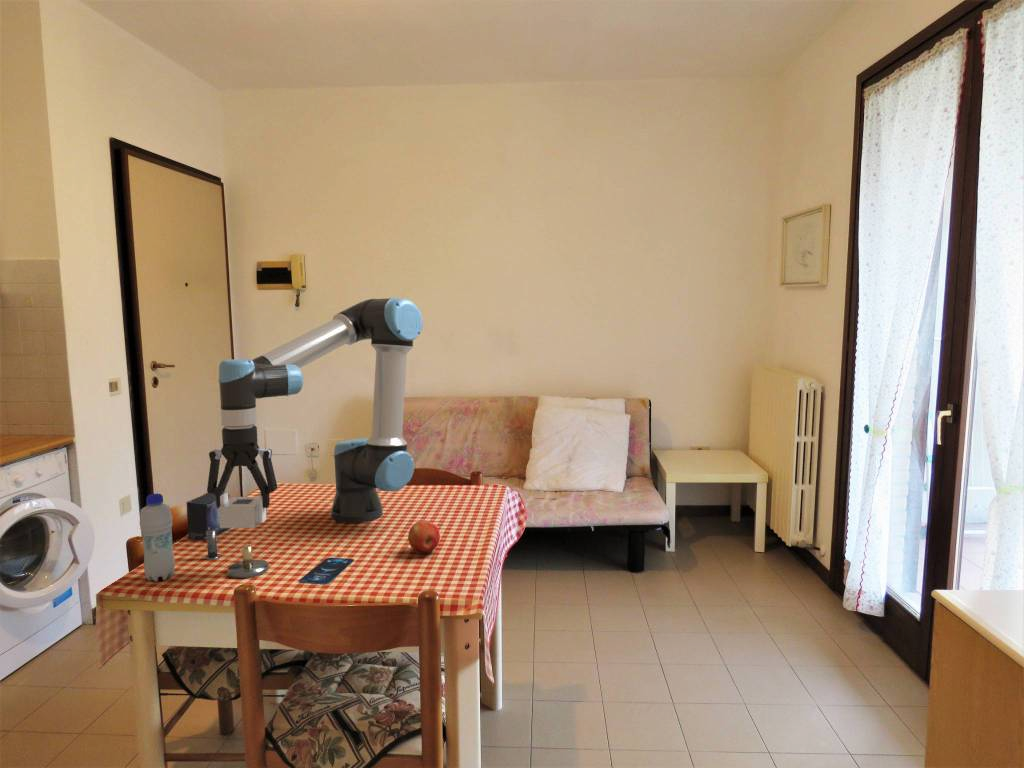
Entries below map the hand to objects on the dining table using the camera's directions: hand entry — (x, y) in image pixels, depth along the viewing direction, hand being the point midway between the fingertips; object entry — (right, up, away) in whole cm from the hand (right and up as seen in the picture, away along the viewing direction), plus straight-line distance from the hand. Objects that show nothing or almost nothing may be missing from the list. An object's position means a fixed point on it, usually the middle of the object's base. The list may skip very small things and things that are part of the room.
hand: (244, 521), depth 154 cm
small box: (-21, -10, +28) cm, 36 cm away
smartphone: (+19, -13, +1) cm, 23 cm away
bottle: (-19, -13, -2) cm, 23 cm away
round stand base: (0, -12, +2) cm, 12 cm away
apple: (+41, -11, +12) cm, 44 cm away
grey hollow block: (0, 0, 0) cm, 0 cm away
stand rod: (-12, -11, +10) cm, 19 cm away
